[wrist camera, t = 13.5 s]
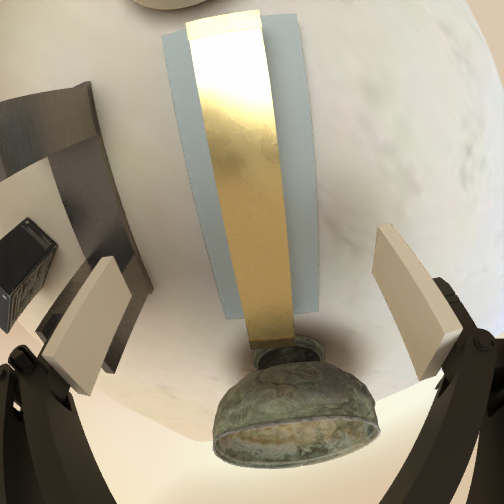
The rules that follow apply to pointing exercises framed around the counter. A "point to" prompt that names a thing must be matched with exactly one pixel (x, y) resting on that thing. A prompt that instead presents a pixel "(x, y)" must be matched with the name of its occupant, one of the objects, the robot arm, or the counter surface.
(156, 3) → the saucepan
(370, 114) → the counter surface
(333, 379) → the bowl
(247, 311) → the rail
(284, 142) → the board
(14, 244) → the small box
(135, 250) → the grey metal bracket
